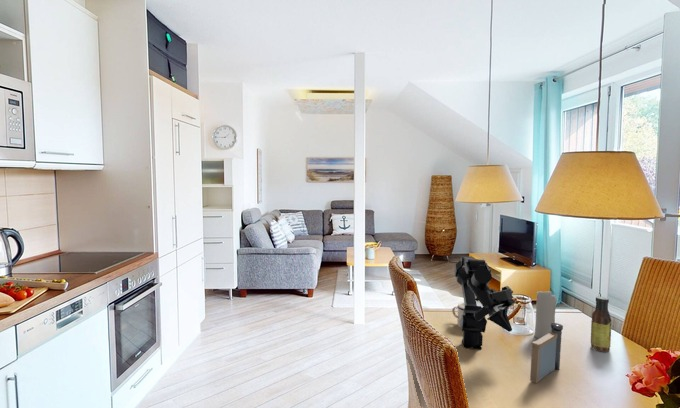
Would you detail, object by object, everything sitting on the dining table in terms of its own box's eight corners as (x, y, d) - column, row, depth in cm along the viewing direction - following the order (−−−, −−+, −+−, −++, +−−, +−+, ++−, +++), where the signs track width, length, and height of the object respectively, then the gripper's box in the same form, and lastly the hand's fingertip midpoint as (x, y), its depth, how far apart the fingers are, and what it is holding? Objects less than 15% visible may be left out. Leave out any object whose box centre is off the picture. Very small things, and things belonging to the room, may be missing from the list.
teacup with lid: (482, 326, 161) (483, 300, 161) (472, 332, 155) (473, 305, 154) (457, 318, 170) (458, 294, 169) (446, 324, 164) (447, 298, 163)
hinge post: (550, 369, 125) (552, 326, 124) (546, 364, 129) (549, 322, 128) (562, 370, 125) (564, 327, 124) (558, 365, 128) (560, 323, 127)
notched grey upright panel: (565, 334, 154) (568, 287, 153) (549, 342, 146) (551, 293, 145) (548, 328, 160) (550, 283, 159) (531, 336, 152) (533, 288, 151)
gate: (549, 366, 126) (551, 331, 125) (555, 369, 125) (557, 333, 124) (530, 380, 117) (532, 342, 117) (536, 383, 116) (538, 344, 115)
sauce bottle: (613, 353, 138) (616, 301, 136) (594, 351, 139) (598, 300, 138) (604, 346, 144) (607, 296, 143) (586, 344, 145) (589, 294, 144)
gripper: (483, 283, 123) (514, 326, 115) (511, 275, 135) (541, 313, 127) (461, 300, 130) (490, 342, 122) (489, 291, 141) (517, 328, 134)
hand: (510, 331), depth 126 cm, fingers closed
